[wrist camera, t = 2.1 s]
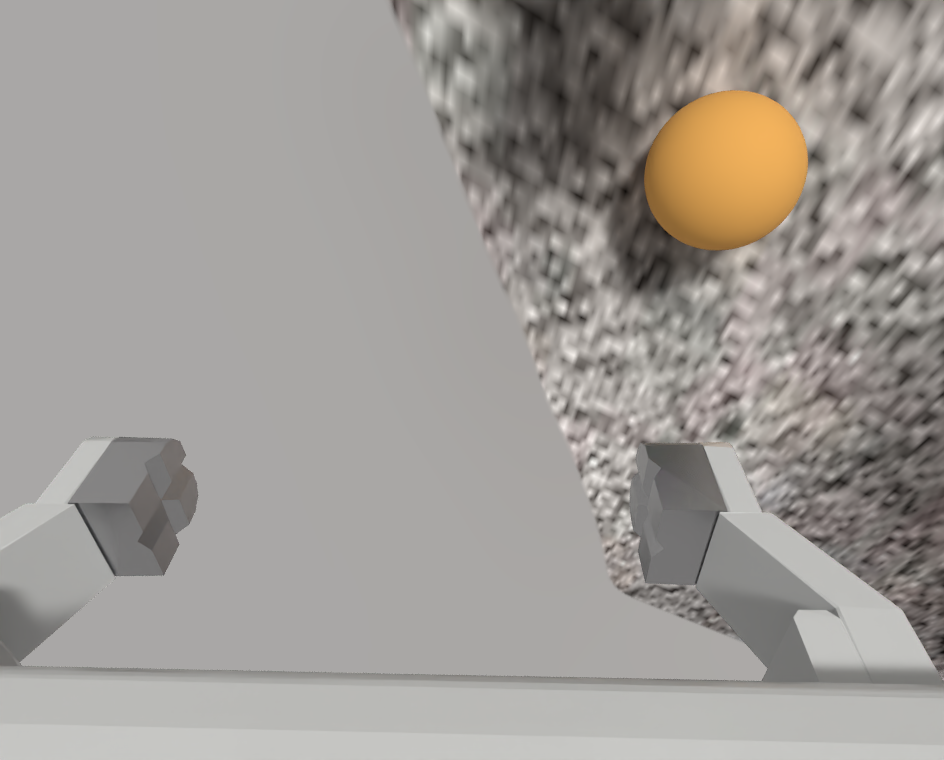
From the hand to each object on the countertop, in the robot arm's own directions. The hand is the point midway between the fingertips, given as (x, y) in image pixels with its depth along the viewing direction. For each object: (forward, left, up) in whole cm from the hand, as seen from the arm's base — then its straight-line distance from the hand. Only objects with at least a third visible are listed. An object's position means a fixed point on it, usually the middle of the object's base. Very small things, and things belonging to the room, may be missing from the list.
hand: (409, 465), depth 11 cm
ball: (-10, +1, -18) cm, 20 cm away
